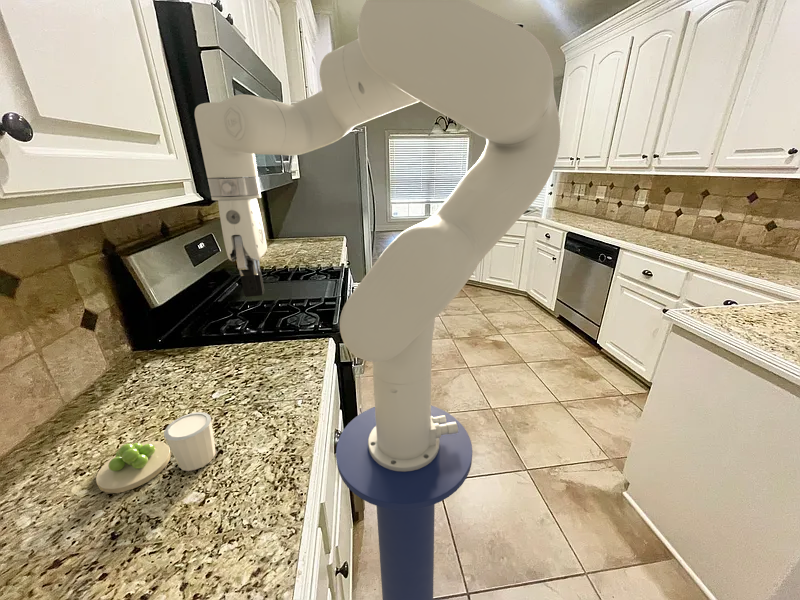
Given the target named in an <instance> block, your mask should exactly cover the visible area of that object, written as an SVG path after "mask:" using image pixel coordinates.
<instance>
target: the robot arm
mask: <svg viewBox="0 0 800 600" xmlns="http://www.w3.org/2000/svg"><path fill="white" fill-rule="evenodd" d="M318 72H319V82H320V88H321V90H320V91H318V92H316V93H315V94H313V95H311V96H308V97H307V98H304V99H302V100H300V101H297V102H295V103H291V104H289V103H286V102H282V101H279V100H274V99H271V98H264V97H260V96H257V95H252V94H245V93H244V94H242V93H241V94H236V95H232V96H230V97H228V98H225V99H224V100H221V101H219V102H218V101H217V102H216V101H215V102H213V101H212V102H204V103H200V104H198V105H197V106H196V107H195V108H194V119H195V125H196V130H197V134H198V139H199V144H200V148H201V149H200V150H201V153H202V159H203V164H204V168H205V173H206V178H207V182H208V186H209V192H210V196H211V197H210V198H211V201H217V204H218V212H219V213H218V215H219V219H220V226H221V231H222V238H223V243H224V248H225V252H226V256H227V259H228V260H229V261H231V262H236V265H237V270H238V272H239V275H240V280H241V281H240V282H241V285H242V291H243V296H244V297H245V298H251V297H260V296H261V297H262V296H263V295H264V293H265V287H264V281H263V275H262V271H261V265H260V259H262V257H263V256H264V255H265V253H267V251H268V242H267V240H266V239H267V238H266V233H265V227H264V224H263V219H262V215H261V210H260V206H259V205H260V204H259V202H258V199H261V198H262V194H261V187H260V181H259V180H260V179H259V173H258V168H257V161H256V155H265V156H266V155H267V156H270V155H274V156H289V157H291V156H300V155H304V154H307V153H311V152H313V151H315V150H319V149H321V148H325V147H326V146H330V145H331V144H334V143H336V142H337V141H340V140H341V139H342V138H343V137H345V136H347V135H348V134H349V133H351V131H352V130H353V129H354V128H355V127H358V126H359V125H362V124H364V123H367V122H369V121H372V120H375V119H378V118H379V117H382V116H385V115H387V114H390V113H392V112H395V111H398V110H401V109H403V108H406V107H409V106H412V105H414V104H417V103H419V102H420V103H423V104H424V105H426V106H427V107H430V108H431V109H433V110H434V111H437V112H439V113H440V114H442V115H443V116H446V117H447V118H449V119H451V120H452V121H454V122H455V123H457V124H458V125H461V126H463V127H464V128H466V129H467V130H468V131H470V132H472V133H474V134H476V135H477V136H479V137H482V138H483V139H485V141H486V144H485V147H484V150H483V151H482V153H481V155H480V157H479V158H478V160H477V161H476V162H475V164H473V165H472V167H471V168H470V169H469V170H468V171H467V172H466V173H465V174H464V175H463V177H462V178H461V179H460V181H459V182H458V183H457V185H456V187H454V189H453V190H452V192H451V193H450V195H449V196H448V197H447V198H446V199H445V200H444V202H443V203H442V204H441V206H439V208H438V209H437V210H436V211H435V212H434V213H433V214H432V215H431V216H429V217H428V218H426V219H425V220H423V221H420V222H418V223H417V224H416V223H415V224H414V225H412V226H410V227H408V228H406V229H404V230H403V231H402V232H401V233H399V234H398V235H397V236H396V237H395V238H394V239H393V240H392V241H390V243H389V244H388V245H387V246H386V248H385V249H384V250H383V251H382V253H380V255H379V257H378V258H377V259H376V261H375V262H374V263H373V264H372V265H371V267H370V269H369V270H368V271H367V273H366V274H365V275H364V276H363V278H362V279H361V281H360V282H359V284H358V285H357V286H356V287H355V289H354V290H353V292H352V293H351V294H350V296H349V297H348V299H347V300H346V301H345V303H344V305H343V307H342V308H341V309H342V310H341V313H340V316H339V332H340V336H341V339H342V342H343V344H344V346H345V347H346V349H347V351H349V352H350V353H351V354H352V355H353V356H355V357H356V358H359V359H360V360H363V361H366V362H372V378H373V379H372V380H373V397H374V407H375V415H376V426H375V427H374V428H373V430H372V431H371V433H370V435H369V439H368V446H369V452H370V454H371V456H372V458H373V459H374V460H375V461H376V462H377V463H378V464H379V465H381V466H383V467H385V468H387V469H390V470H394V471H403V472H406V471H413V470H417V469H420V468H422V467H424V466H426V465H428V464H429V463H430V462H431V461H432V460H433V459H434V458H435V457H436V455H437V453H438V451H439V443H440V441H439V438H441V435H445V434H448V435H449V434H455V433H458V427H457V424H456V422H450V423H446V417H445V415H443V416H438V417H432V416H431V405H432V370H433V369H432V364H433V363H432V362H433V361H432V360H433V358H432V357H433V340H434V339H433V338H434V329H435V323H436V322H435V321H436V318H437V317H438V316H439V315H440V314H441V313H442V312H443V311H444V310H445V309H446V308H447V307H448V306H449V304H450V303H451V302H452V301H453V300H454V299H455V298H456V297H457V296H458V295H459V293H460V292H461V291H462V290H463V288H464V287H465V286H466V284H467V282H468V281H469V280H470V278H471V277H472V275H473V274H474V272H475V271H476V269H477V267H478V266H479V265H480V263H481V261H482V260H483V259H484V258H485V257H486V255H488V253H489V252H490V251H491V250H492V249H493V248H494V247H495V246H496V245H497V244H498V242H500V241H501V239H502V238H503V237H505V235H506V234H507V233H508V231H510V229H511V228H512V227H513V226H514V225H515V224H516V223H517V221H518V220H519V219H520V218H521V217H522V216H523V215H524V214H525V212H526V211H527V210H528V209H529V208H530V206H531V205H532V204H533V203H534V202H535V200H536V199H537V198H538V197H539V195H540V194H541V192H542V191H543V189H544V188H545V186H546V184H547V182H548V181H549V179H550V177H551V175H552V173H553V170H554V167H555V165H556V162H557V159H558V154H559V150H560V149H559V148H560V143H561V125H560V122H561V121H560V116H559V112H558V106H557V102H556V97H555V87H554V84H555V83H554V81H555V80H554V79H555V78H554V77H555V76H554V68H553V63H552V61H551V57H550V55H549V53H548V51H547V48H546V47H545V46H544V45H543V44H542V42H541V41H540V39H538V38H537V37H536V36H535V35H534V34H533V33H531V31H529V30H527V29H525V27H522V26H520V25H519V24H517V23H515V22H513V21H511V20H509V19H507V18H506V17H503V16H501V15H498V14H497V13H494V12H493V11H491V10H489V9H486V8H485V7H482V6H480V5H479V4H476V3H475V2H472V1H470V0H365V2H364V4H363V6H362V8H361V11H360V14H359V17H358V23H357V38H356V39H353V40H351V41H350V42H347V43H346V44H344V45H342V46H340V47H338V48H336V49H334V50H332V51H329V52H327V54H326V55H324V57H323V58H322V59H321V62H320V65H319V71H318ZM443 423H445V424H443ZM439 424H442V425H439Z"/></svg>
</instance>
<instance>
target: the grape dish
mask: <svg viewBox="0 0 800 600" xmlns="http://www.w3.org/2000/svg"><path fill="white" fill-rule="evenodd" d="M171 456H172V451H171V449H170V447H169V445H168V443H167V442H166V443H165V442H164V441H159V440H152V441H151V440H149V441H145V442H141V443H140V442H134V443H124V444H123V445H121V446H120V447H119V449H118V450H117V451H116V452H115V455H113V456H112V457H111V458H109V459H108V460H107V461H106V462H105V463H104V464H103V465H102V466H101V467H100V468H99V470H98V472H97V473H96V476H95V482H96V485H97V487H98V489H99V490H100V491H102V492H103V493H106V494H118V493H119V494H121V493H125V492H128V491H130V490H133V489H136V488H138V487H140V486H142V485H144V484H146V483H148V482H149V481H151V480H153V479H154V478H155V477H157V476H158V475H159V474H160V473H161V472H162V471H163V470H164V469H165V468H166V467H167V466H168V464H169V462H170V460H171V458H172V457H171Z"/></svg>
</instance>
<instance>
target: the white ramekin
mask: <svg viewBox="0 0 800 600" xmlns="http://www.w3.org/2000/svg"><path fill="white" fill-rule="evenodd" d="M212 422H213V421H212V417H211V415H210V414H209V413H207V412H203V411H202V412H201V411H197V412H191V413H187V414H185V415H182V416H180V417H178V418H176V419H175V420H173V421H172V422H170V423H169V424H168V425H167V426H166V427H165V429H164V431H163V437H164V440H165V441H166V444H167V445H168V446H169V448H170V451H171V454H172V456H173V458H174V460H175V461H176V464H177V466H178V467H179V469H181V471H186V472H191V471H197V470H199V469H200V468H203V467H205V466H207V465H208V464H209V463H210V462H211V461H212V460H213V459H214V458H215V456H216V443H215V436H214V429H213V423H212Z"/></svg>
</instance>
